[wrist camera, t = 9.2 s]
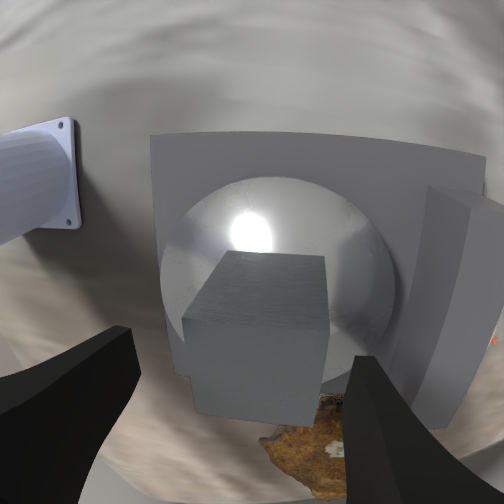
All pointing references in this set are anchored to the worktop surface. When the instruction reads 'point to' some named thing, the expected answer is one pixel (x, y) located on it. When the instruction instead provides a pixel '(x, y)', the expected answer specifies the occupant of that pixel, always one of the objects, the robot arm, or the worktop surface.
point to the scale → (391, 231)
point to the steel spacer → (259, 338)
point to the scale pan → (288, 242)
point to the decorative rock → (313, 452)
